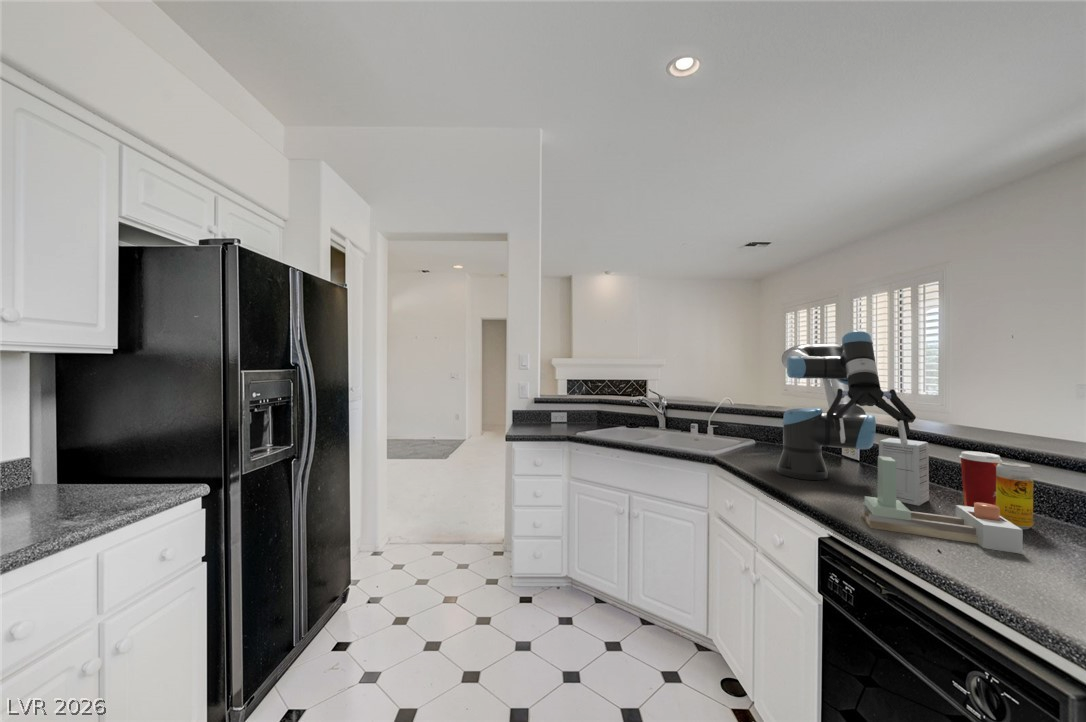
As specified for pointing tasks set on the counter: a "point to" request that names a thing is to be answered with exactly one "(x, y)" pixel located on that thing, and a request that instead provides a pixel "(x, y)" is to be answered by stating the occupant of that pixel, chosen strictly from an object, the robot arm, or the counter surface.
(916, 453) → the supplement box
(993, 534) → the white rectangular block
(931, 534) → the rail track
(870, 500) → the stand
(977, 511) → the button
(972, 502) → the coffee cup
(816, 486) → the counter surface
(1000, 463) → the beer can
